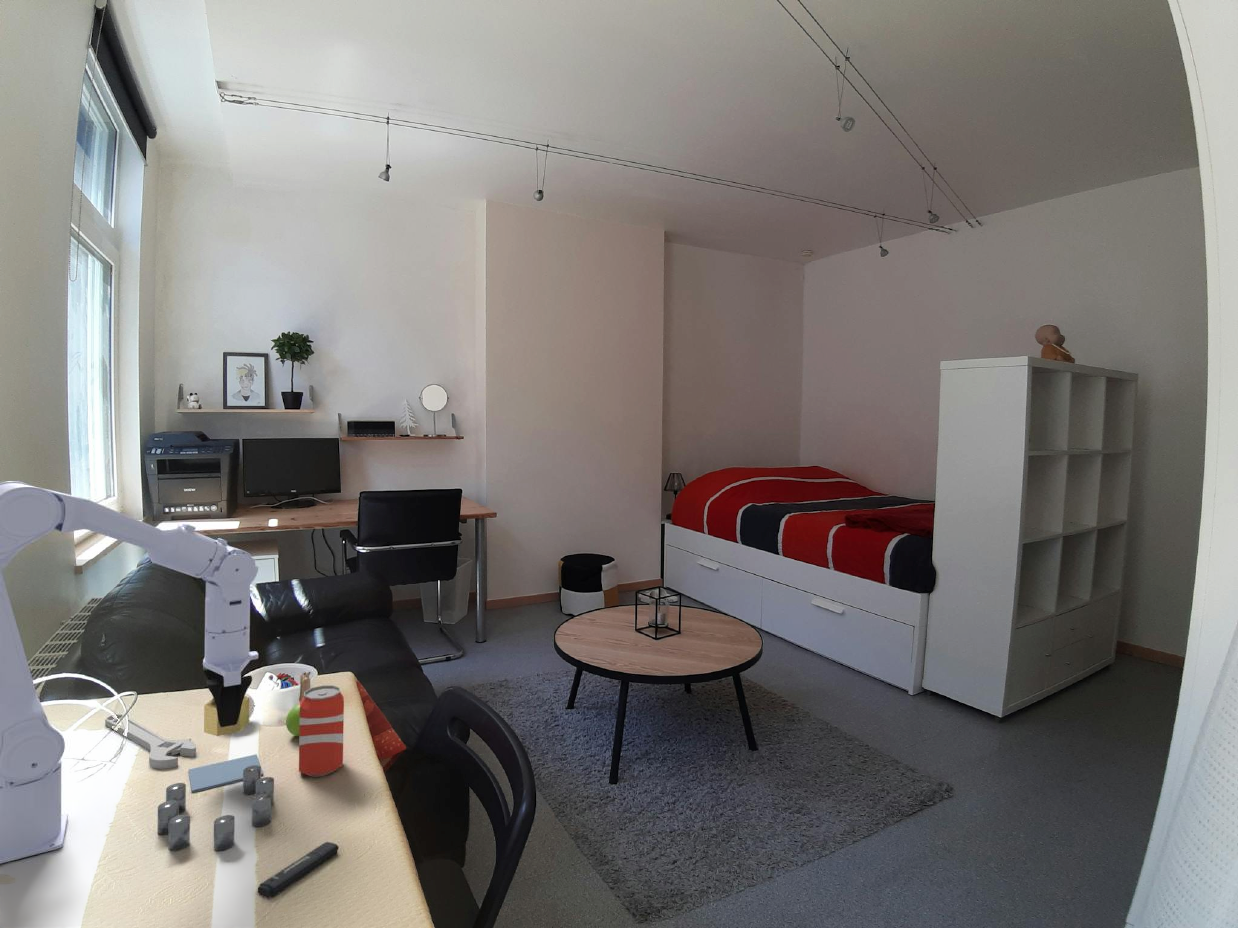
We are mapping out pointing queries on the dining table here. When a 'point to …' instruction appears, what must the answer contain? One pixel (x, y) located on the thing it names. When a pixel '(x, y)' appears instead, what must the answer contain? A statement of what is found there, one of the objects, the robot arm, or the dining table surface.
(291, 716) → the snail figurine
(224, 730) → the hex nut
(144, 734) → the adjustable wrench
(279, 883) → the usb stick
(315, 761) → the beverage can
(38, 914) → the dining table surface
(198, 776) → the mat
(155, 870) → the dining table surface
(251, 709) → the white egg
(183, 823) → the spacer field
